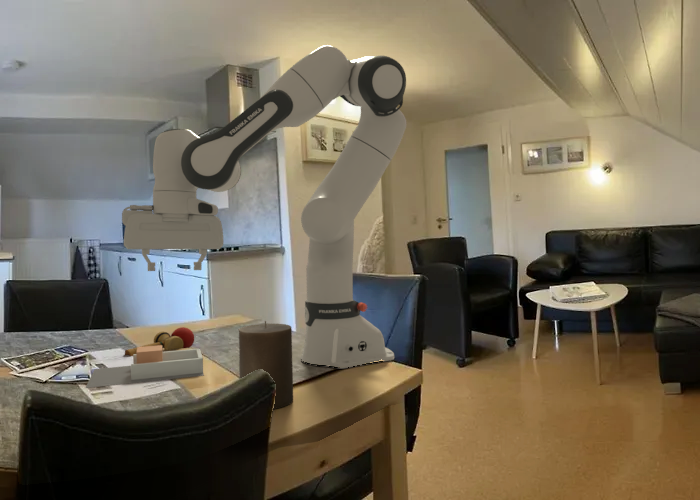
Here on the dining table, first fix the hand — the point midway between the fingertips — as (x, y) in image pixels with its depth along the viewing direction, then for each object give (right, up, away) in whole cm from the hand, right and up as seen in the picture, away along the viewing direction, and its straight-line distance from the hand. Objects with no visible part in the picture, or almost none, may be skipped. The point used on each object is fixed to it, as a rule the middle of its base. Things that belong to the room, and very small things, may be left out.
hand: (174, 270), depth 111 cm
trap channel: (-5, -23, -1) cm, 24 cm away
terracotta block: (-5, -22, -1) cm, 22 cm away
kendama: (-10, -22, +20) cm, 32 cm away
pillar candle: (+22, -24, -16) cm, 36 cm away
